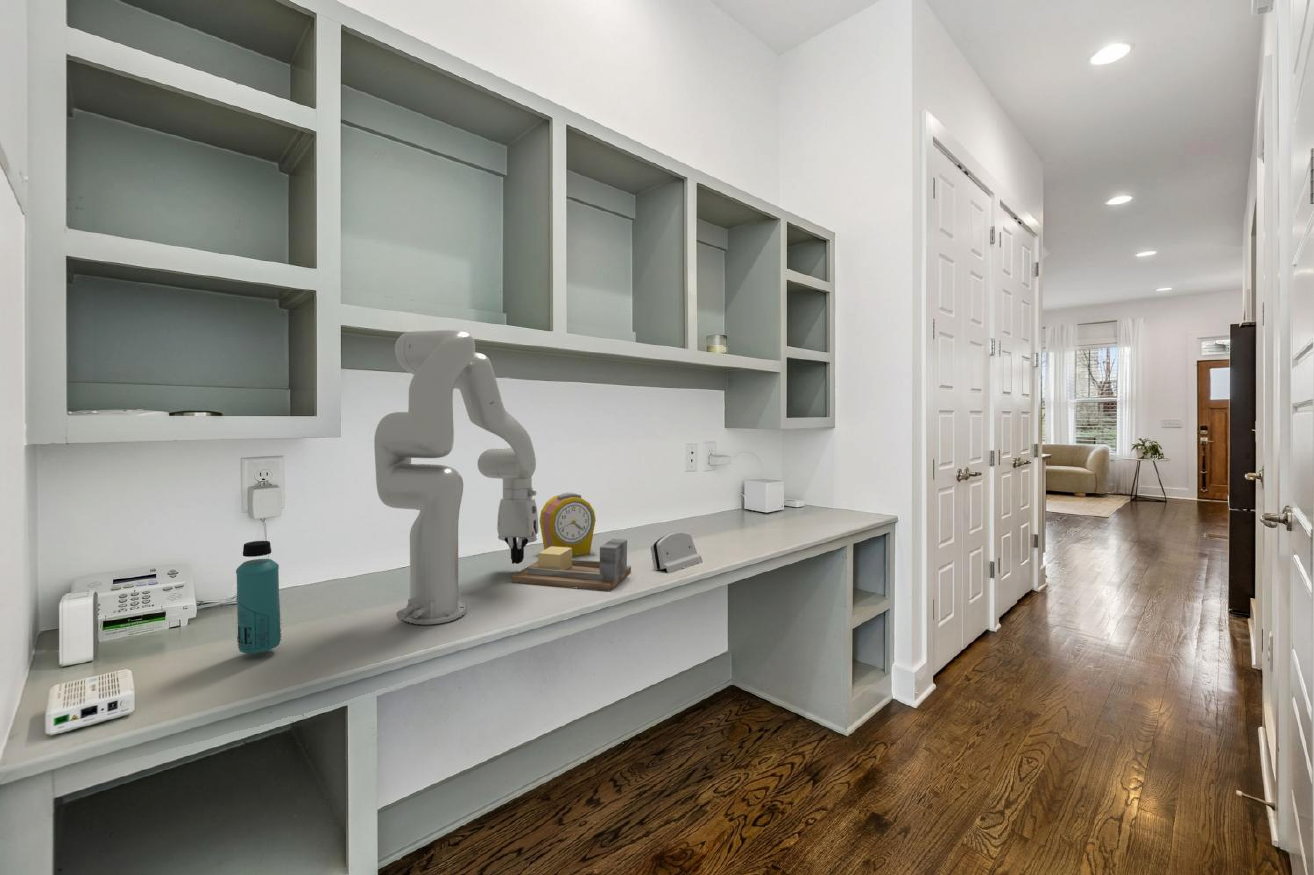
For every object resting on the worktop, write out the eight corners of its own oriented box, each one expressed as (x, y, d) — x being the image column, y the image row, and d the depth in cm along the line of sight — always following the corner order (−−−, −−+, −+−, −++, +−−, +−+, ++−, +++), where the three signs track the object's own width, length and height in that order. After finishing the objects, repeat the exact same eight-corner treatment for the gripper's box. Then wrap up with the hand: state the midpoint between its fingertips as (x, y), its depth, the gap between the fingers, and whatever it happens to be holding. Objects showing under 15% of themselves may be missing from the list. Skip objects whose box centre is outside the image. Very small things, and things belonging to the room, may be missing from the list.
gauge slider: (559, 574, 152) (560, 554, 152) (538, 572, 153) (538, 553, 153) (578, 562, 164) (578, 544, 164) (557, 560, 166) (558, 542, 165)
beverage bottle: (289, 647, 108) (287, 537, 107) (266, 662, 101) (264, 546, 100) (252, 647, 108) (250, 537, 107) (227, 662, 101) (225, 545, 100)
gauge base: (609, 591, 144) (610, 552, 143) (511, 582, 150) (511, 544, 149) (630, 571, 161) (631, 536, 160) (541, 564, 167) (542, 530, 167)
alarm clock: (550, 559, 173) (550, 496, 172) (539, 553, 180) (539, 492, 179) (596, 553, 181) (596, 492, 180) (584, 547, 188) (584, 489, 187)
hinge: (668, 573, 160) (658, 536, 161) (655, 576, 162) (645, 540, 164) (703, 561, 173) (694, 527, 174) (690, 564, 175) (681, 531, 177)
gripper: (549, 493, 160) (549, 561, 161) (498, 490, 164) (498, 557, 165) (537, 497, 153) (537, 568, 154) (484, 494, 156) (484, 563, 157)
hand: (517, 562), depth 159 cm, fingers closed
